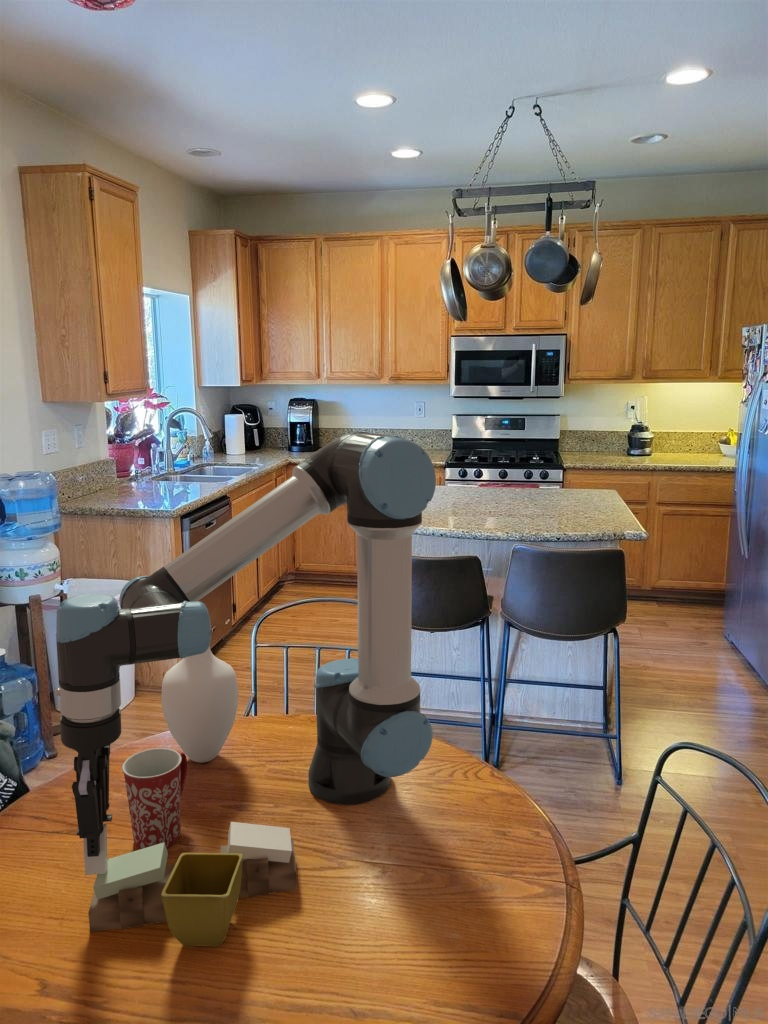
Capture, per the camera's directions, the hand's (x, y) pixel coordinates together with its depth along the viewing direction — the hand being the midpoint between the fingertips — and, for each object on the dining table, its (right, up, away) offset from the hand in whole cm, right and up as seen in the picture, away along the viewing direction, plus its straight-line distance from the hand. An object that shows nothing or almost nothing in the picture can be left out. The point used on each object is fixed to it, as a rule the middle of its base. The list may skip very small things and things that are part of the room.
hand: (96, 870), depth 101 cm
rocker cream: (+21, -1, +7) cm, 22 cm away
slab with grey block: (+5, -6, +2) cm, 8 cm away
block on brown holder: (+21, -5, +8) cm, 23 cm away
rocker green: (+5, -2, +1) cm, 5 cm away
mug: (+4, -3, +19) cm, 20 cm away
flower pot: (+16, -7, -3) cm, 18 cm away
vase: (+4, +1, +42) cm, 42 cm away
